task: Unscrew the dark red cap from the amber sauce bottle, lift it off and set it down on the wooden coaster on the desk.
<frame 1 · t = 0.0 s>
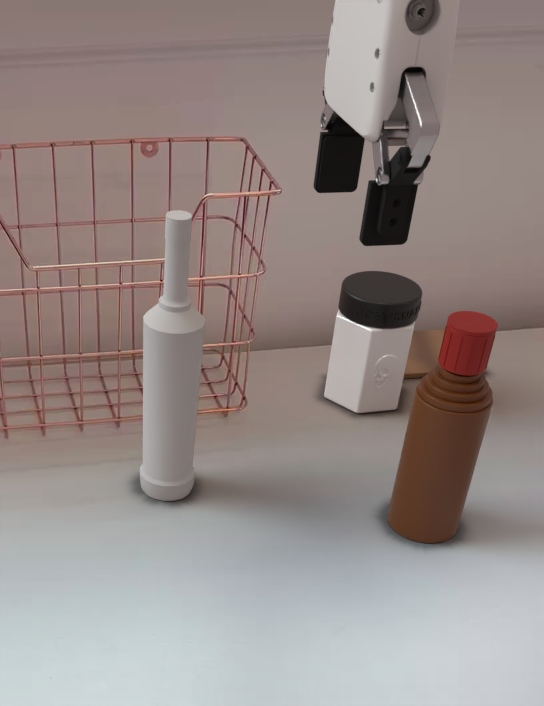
hand: (357, 216, 71), 28 cm above the table, tool pointing down, fingers open, 9 cm apart
bottle 2: (166, 488, 96), on the table
cap: (471, 325, 81), point 19 cm above the table, screwed on, not yet turned
coaster: (424, 355, 119), on the table
jar: (362, 396, 111), on the table
bottle: (422, 522, 94), on the table
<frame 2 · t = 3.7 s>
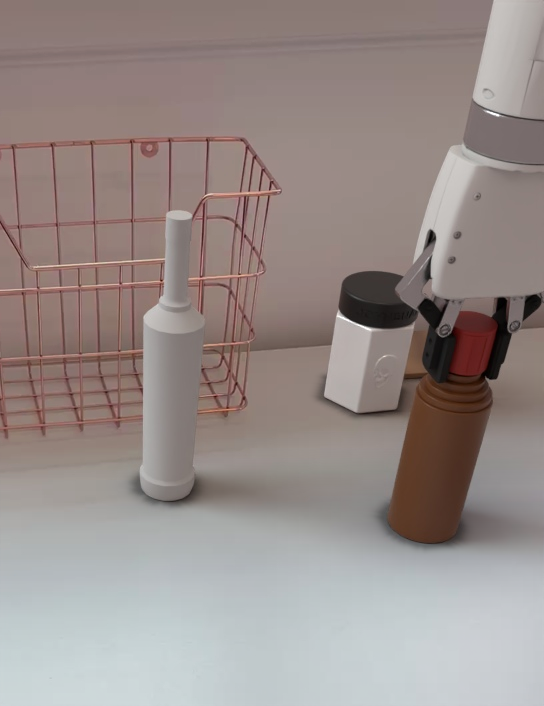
hand: (460, 371, 84), 15 cm above the table, tool pointing down, fingers closed on cap, 3 cm apart
cap: (471, 325, 81), point 19 cm above the table, screwed on, not yet turned, touching gripper
everything else where it was.
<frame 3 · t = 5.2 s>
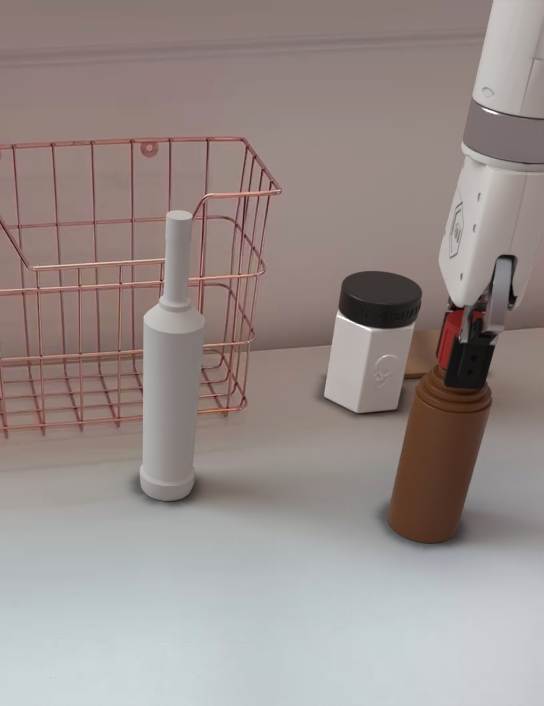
hand: (458, 371, 84), 15 cm above the table, tool pointing down, fingers closed on cap, 3 cm apart
cap: (470, 324, 81), point 19 cm above the table, turned 75° so far, risen 0.1 cm, still on its thread, touching gripper
everything else where it was.
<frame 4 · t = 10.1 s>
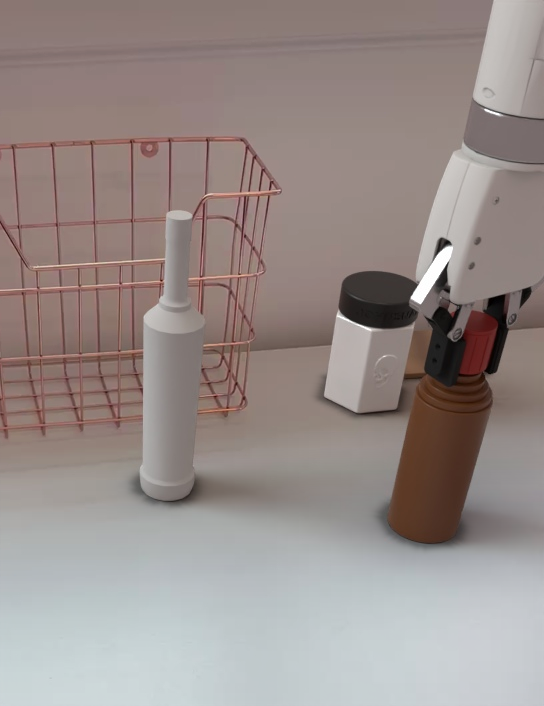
hand: (460, 370, 84), 15 cm above the table, tool pointing down, fingers closed on cap, 3 cm apart
cap: (472, 324, 81), point 19 cm above the table, turned 94° so far, risen 0.1 cm, still on its thread, touching gripper
everything else where it was.
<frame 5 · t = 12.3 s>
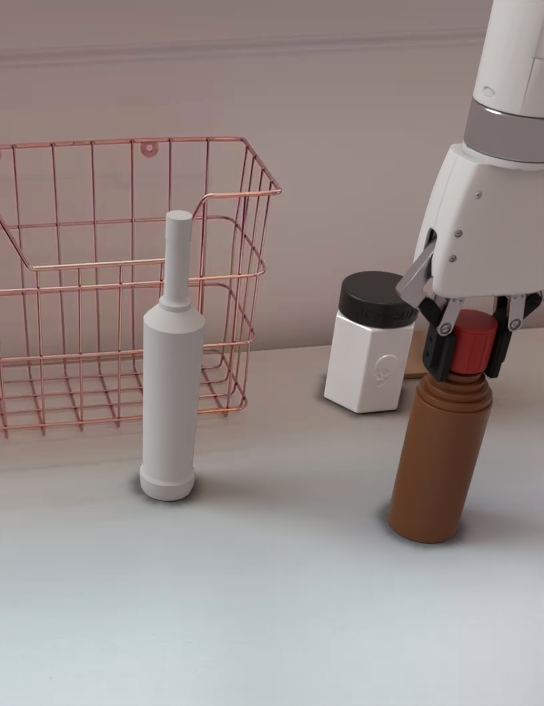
hand: (460, 370, 84), 15 cm above the table, tool pointing down, fingers closed on cap, 3 cm apart
cap: (472, 323, 81), point 19 cm above the table, turned 150° so far, risen 0.1 cm, still on its thread, touching gripper
everything else where it was.
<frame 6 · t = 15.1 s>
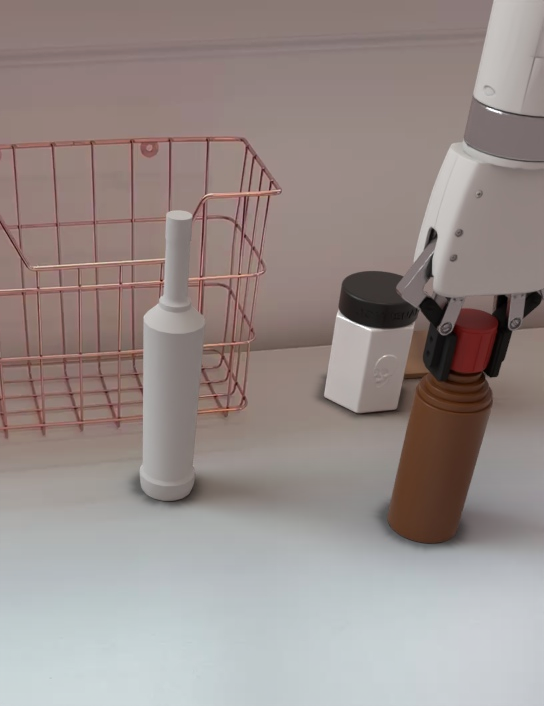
hand: (460, 369, 84), 15 cm above the table, tool pointing down, fingers closed on cap, 3 cm apart
cap: (472, 322, 81), point 19 cm above the table, turned 226° so far, risen 0.2 cm, still on its thread, touching gripper
everything else where it was.
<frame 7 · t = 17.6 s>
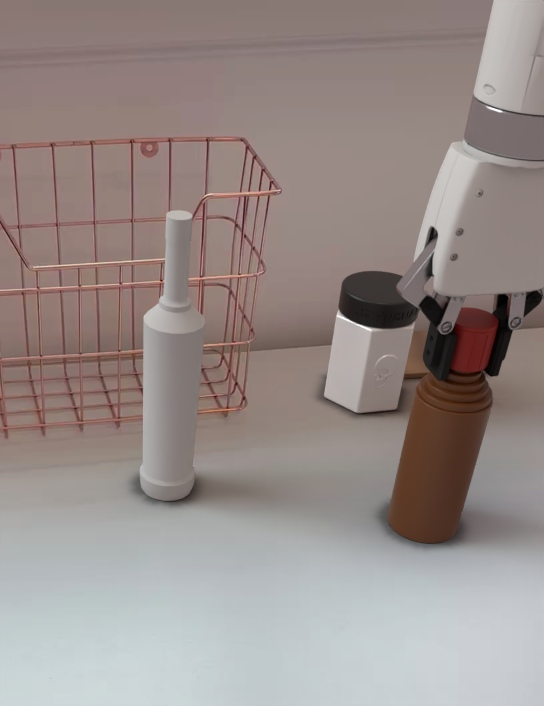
hand: (460, 368, 84), 15 cm above the table, tool pointing down, fingers closed on cap, 3 cm apart
cap: (472, 321, 81), point 19 cm above the table, turned 301° so far, risen 0.3 cm, still on its thread, touching gripper
everything else where it was.
when the fingers open (2 cm above the table, at t = 26.5 s): cap drops 3 cm, resting on coaster.
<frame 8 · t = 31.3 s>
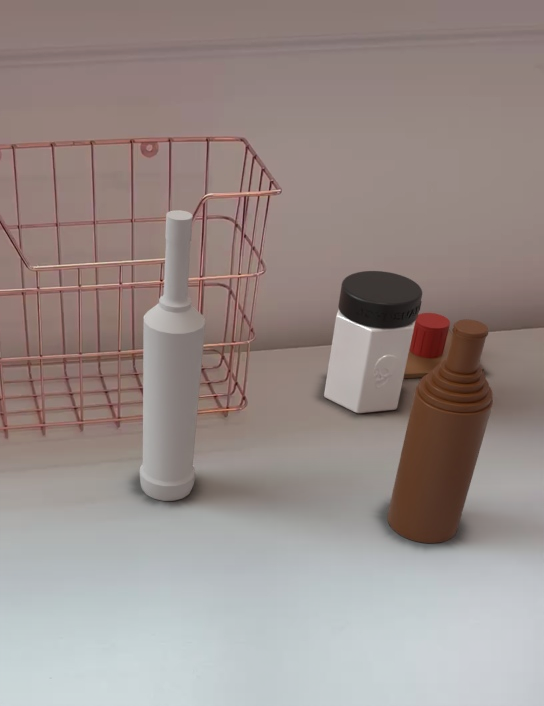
cap: (432, 322, 116), point 4 cm above the table, off its thread, touching coaster
everything else where it was.
at the end: cap came off its thread; cap inside the target area on the coaster (0.0 cm from its centre), point 3.9 cm above the coaster's base; the gripper is holding nothing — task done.
